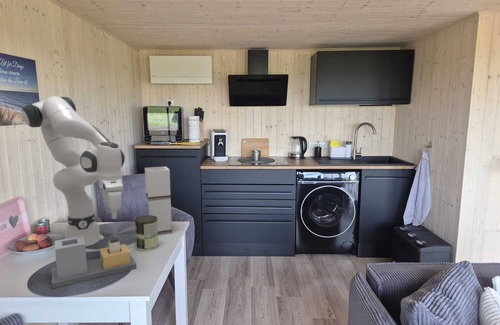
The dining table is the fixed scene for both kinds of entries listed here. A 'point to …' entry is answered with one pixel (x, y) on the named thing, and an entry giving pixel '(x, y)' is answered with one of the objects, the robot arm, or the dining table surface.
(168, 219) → the striped beige pillar
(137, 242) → the coffee can
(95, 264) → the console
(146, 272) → the dining table surface
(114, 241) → the plug
